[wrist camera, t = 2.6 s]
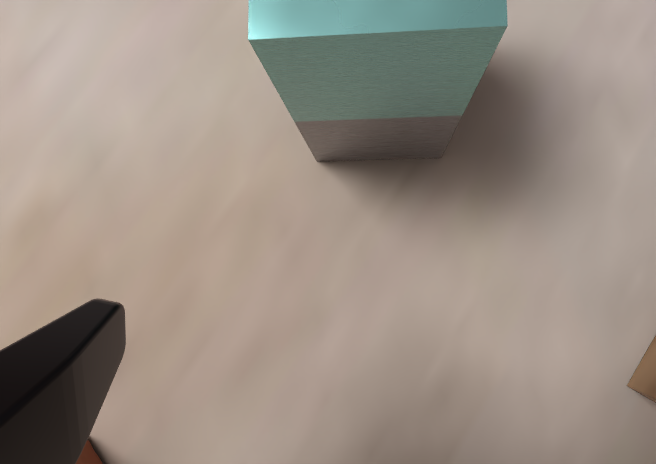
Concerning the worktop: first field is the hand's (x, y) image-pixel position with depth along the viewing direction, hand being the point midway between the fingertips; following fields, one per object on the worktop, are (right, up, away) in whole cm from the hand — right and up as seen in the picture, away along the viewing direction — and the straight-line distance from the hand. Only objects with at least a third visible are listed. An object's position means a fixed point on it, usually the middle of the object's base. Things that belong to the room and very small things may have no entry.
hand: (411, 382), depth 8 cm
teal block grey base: (+1, +8, +13) cm, 15 cm away
